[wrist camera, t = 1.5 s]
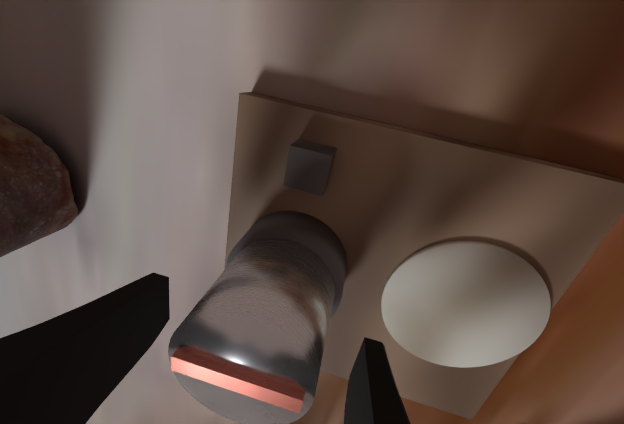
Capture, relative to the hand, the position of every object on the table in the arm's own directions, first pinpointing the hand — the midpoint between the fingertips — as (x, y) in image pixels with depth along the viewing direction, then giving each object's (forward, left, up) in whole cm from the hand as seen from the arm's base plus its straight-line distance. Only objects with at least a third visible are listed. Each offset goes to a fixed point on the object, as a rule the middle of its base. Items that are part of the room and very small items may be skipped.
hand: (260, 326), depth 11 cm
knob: (0, 0, -3) cm, 3 cm away
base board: (-4, 0, -6) cm, 7 cm away
